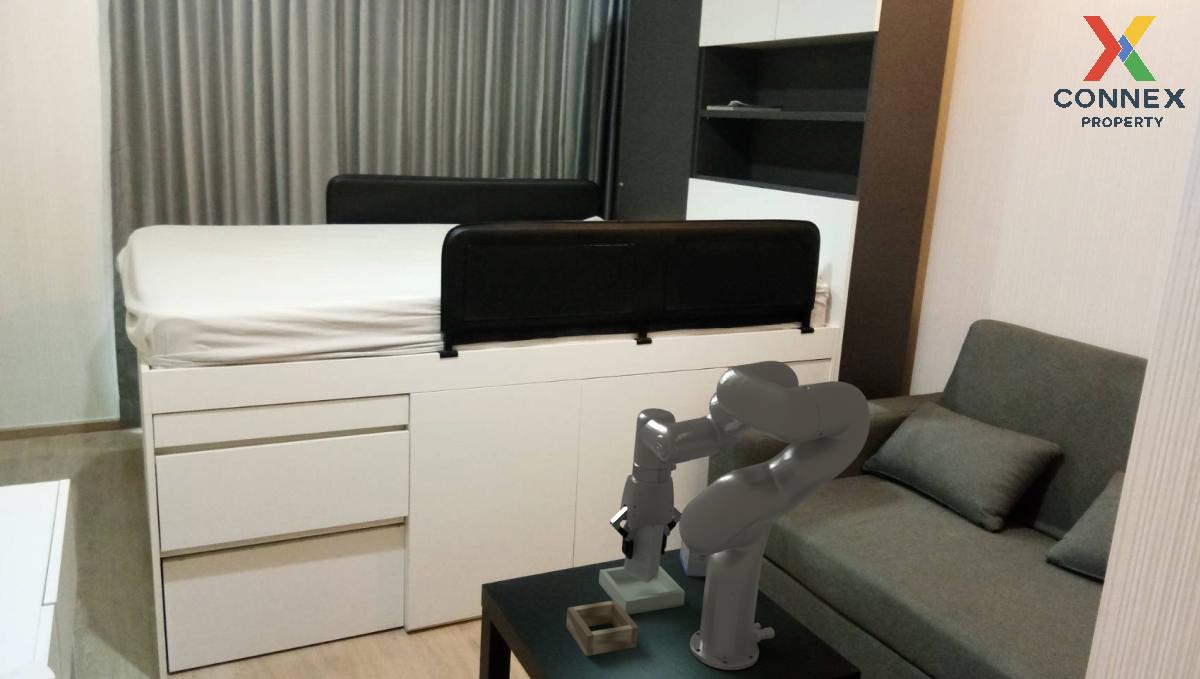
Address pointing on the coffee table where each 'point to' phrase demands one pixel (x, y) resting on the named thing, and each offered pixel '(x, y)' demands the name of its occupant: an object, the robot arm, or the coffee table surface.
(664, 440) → the robot arm
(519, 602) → the coffee table surface
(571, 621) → the collar
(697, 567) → the medicine box
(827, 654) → the coffee table surface
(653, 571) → the skincare box
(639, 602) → the tray
